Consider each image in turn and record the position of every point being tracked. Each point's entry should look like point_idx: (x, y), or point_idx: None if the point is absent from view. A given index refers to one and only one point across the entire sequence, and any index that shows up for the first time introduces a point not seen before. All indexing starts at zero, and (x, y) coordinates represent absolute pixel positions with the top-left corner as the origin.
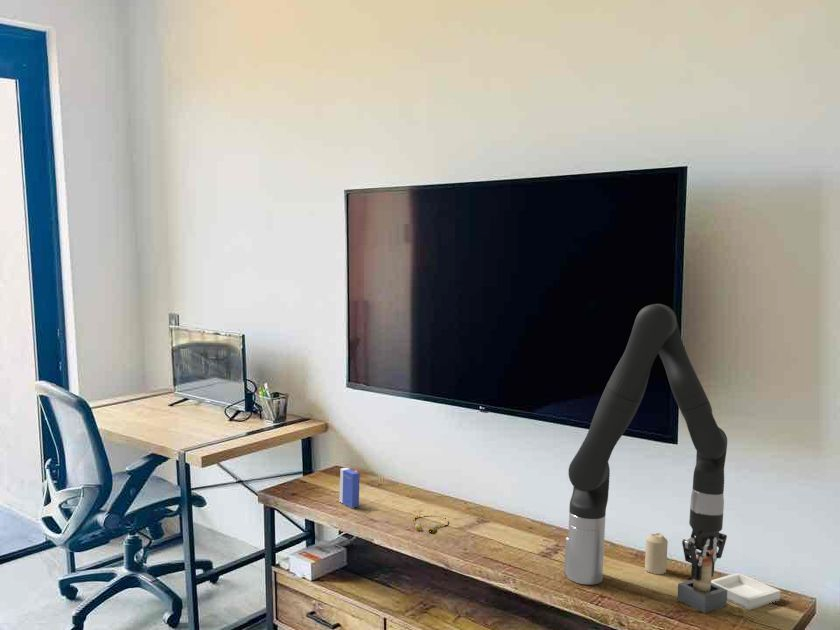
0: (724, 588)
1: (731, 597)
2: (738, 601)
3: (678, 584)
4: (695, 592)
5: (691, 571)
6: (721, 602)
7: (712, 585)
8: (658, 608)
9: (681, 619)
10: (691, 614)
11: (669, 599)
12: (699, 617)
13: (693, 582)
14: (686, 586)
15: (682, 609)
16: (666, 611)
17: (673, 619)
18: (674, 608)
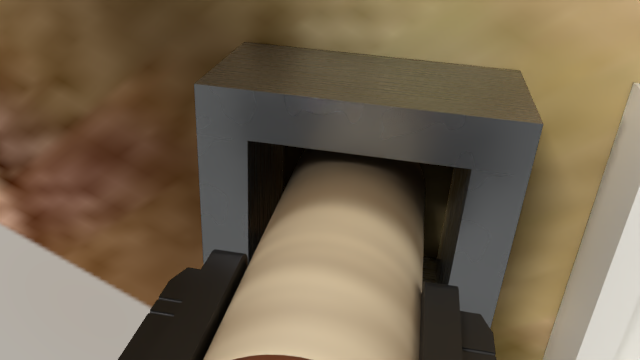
0: (612, 281)
1: (574, 309)
2: (557, 351)
3: (198, 84)
4: (204, 257)
5: (155, 305)
6: None
7: (454, 284)
8: (7, 55)
9: (52, 222)
10: (155, 223)
11: (187, 4)
12: (171, 267)
13: (277, 210)
14: (216, 165)
15: (154, 156)
16: (32, 113)
17: (7, 196)
18: (113, 118)
